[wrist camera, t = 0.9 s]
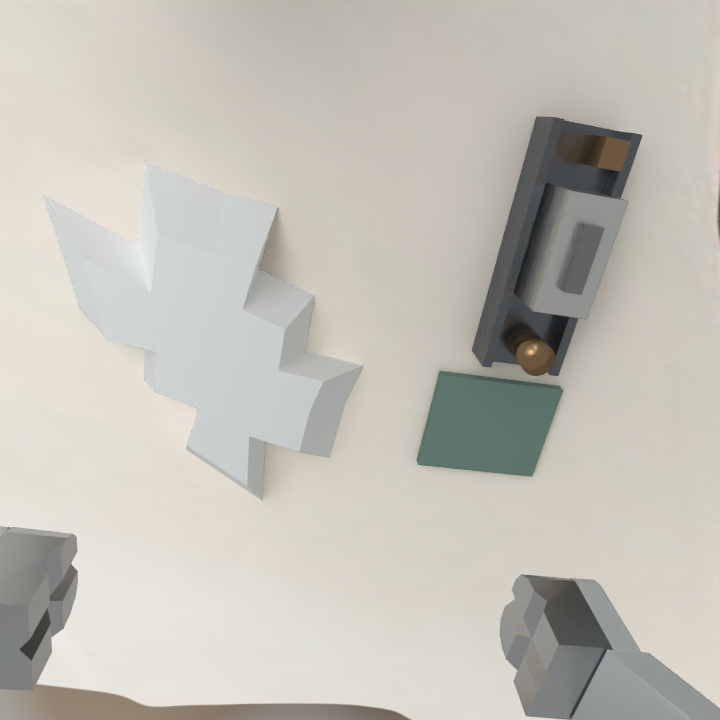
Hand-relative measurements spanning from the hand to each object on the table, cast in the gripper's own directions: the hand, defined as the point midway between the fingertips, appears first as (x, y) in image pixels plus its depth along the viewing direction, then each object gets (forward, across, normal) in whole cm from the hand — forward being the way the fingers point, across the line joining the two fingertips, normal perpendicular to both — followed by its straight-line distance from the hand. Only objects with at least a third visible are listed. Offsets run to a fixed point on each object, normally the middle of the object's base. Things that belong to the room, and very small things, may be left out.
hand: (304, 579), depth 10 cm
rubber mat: (+38, -20, +17) cm, 46 cm away
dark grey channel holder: (+38, -20, -1) cm, 43 cm away
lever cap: (+36, -20, -2) cm, 41 cm away
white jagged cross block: (+39, +6, +12) cm, 41 cm away
